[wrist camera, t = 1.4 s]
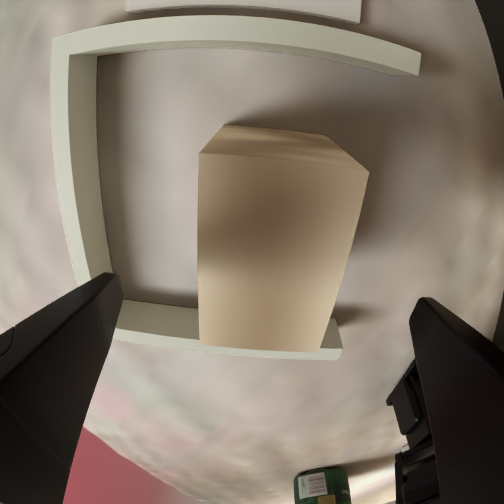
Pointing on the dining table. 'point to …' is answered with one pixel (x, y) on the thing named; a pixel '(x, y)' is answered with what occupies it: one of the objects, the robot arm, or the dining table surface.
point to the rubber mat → (261, 7)
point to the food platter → (500, 36)
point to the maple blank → (273, 236)
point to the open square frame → (86, 154)
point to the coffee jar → (322, 487)
